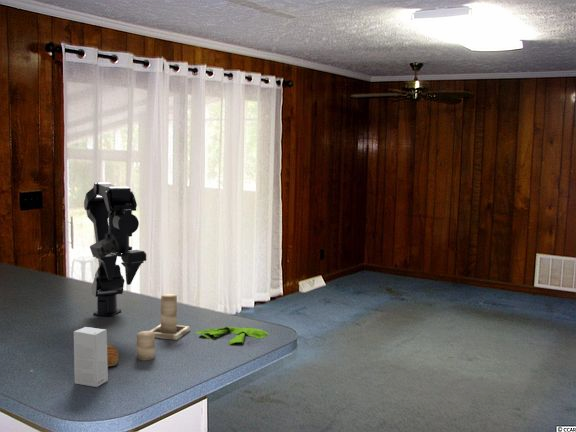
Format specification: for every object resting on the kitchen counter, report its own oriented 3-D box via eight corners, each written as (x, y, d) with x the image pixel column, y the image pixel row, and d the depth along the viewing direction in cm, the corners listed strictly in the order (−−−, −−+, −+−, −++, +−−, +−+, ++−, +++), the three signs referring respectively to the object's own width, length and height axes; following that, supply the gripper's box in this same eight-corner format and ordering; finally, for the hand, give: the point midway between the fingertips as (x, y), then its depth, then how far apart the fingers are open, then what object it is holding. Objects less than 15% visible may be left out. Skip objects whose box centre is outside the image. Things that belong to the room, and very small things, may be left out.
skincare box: (108, 380, 131) (107, 329, 130) (96, 387, 127) (95, 334, 126) (86, 376, 133) (85, 326, 132) (73, 383, 129) (72, 331, 128)
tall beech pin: (160, 331, 168) (161, 294, 167) (176, 330, 169) (176, 293, 168) (160, 336, 164) (160, 297, 162) (176, 335, 164) (176, 297, 163)
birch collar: (161, 327, 172) (161, 323, 171) (189, 330, 169) (190, 326, 169) (147, 336, 163) (147, 332, 163) (176, 339, 161) (176, 335, 161)
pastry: (125, 366, 141) (124, 351, 141) (96, 371, 137) (96, 356, 137) (113, 354, 149) (112, 340, 148) (86, 359, 145) (85, 344, 145)
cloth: (278, 335, 169) (278, 327, 169) (236, 357, 150) (236, 348, 150) (221, 323, 179) (221, 315, 179) (174, 342, 160) (174, 334, 160)
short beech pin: (136, 353, 148) (136, 331, 147) (154, 352, 150) (154, 330, 148) (137, 361, 144) (137, 338, 143) (155, 359, 145) (155, 336, 144)
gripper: (76, 228, 169) (76, 281, 171) (114, 235, 158) (114, 292, 159) (109, 225, 178) (109, 275, 180) (147, 231, 166) (147, 285, 168)
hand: (119, 282), depth 171 cm, fingers open, 9 cm apart
